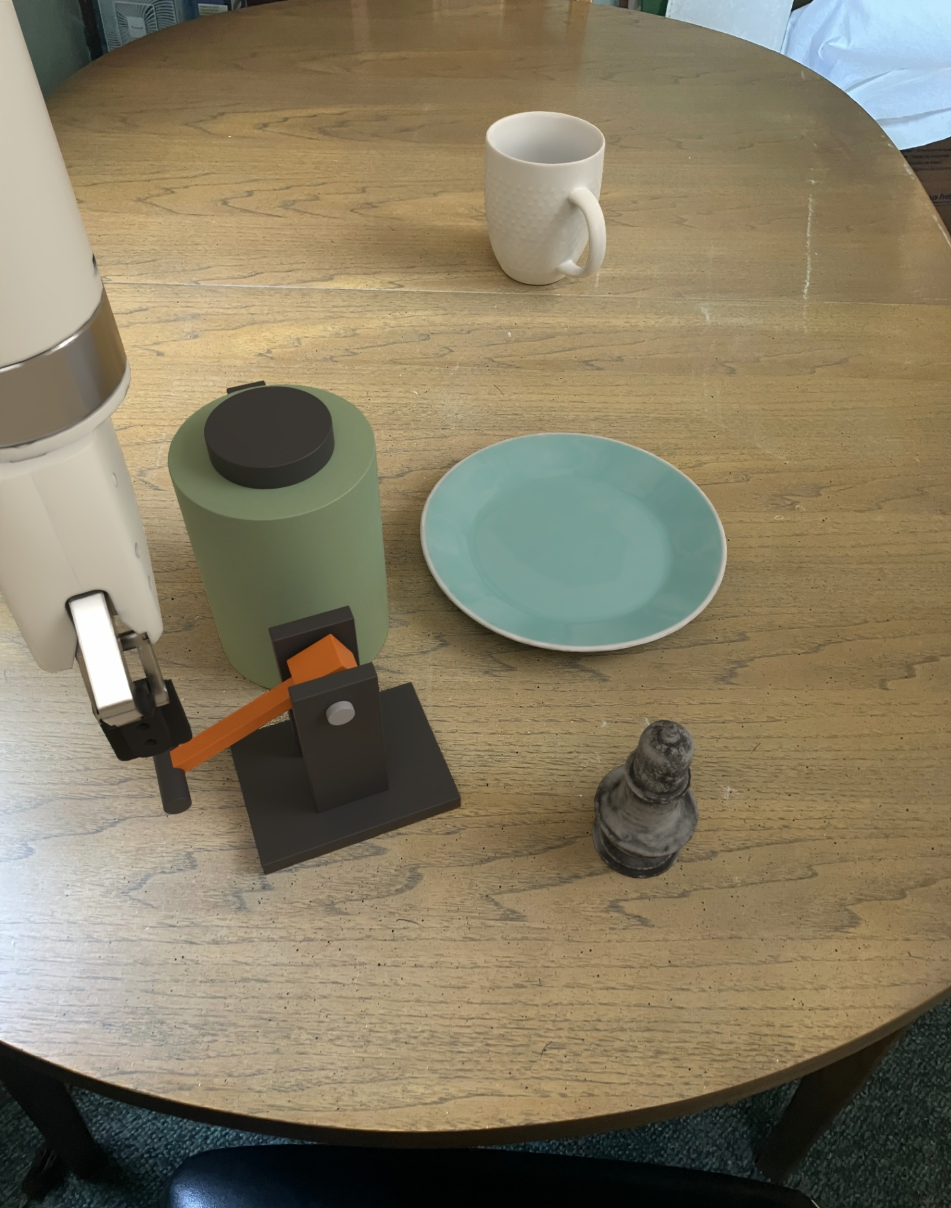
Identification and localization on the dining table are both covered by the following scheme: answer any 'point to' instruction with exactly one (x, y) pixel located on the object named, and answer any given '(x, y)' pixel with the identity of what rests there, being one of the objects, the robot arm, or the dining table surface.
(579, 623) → the plate
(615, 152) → the dining table surface
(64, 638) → the robot arm
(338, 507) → the green canister
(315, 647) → the orange pivot lever
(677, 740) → the chess piece
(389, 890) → the dining table surface
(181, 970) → the dining table surface
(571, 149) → the mug
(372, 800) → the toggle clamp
